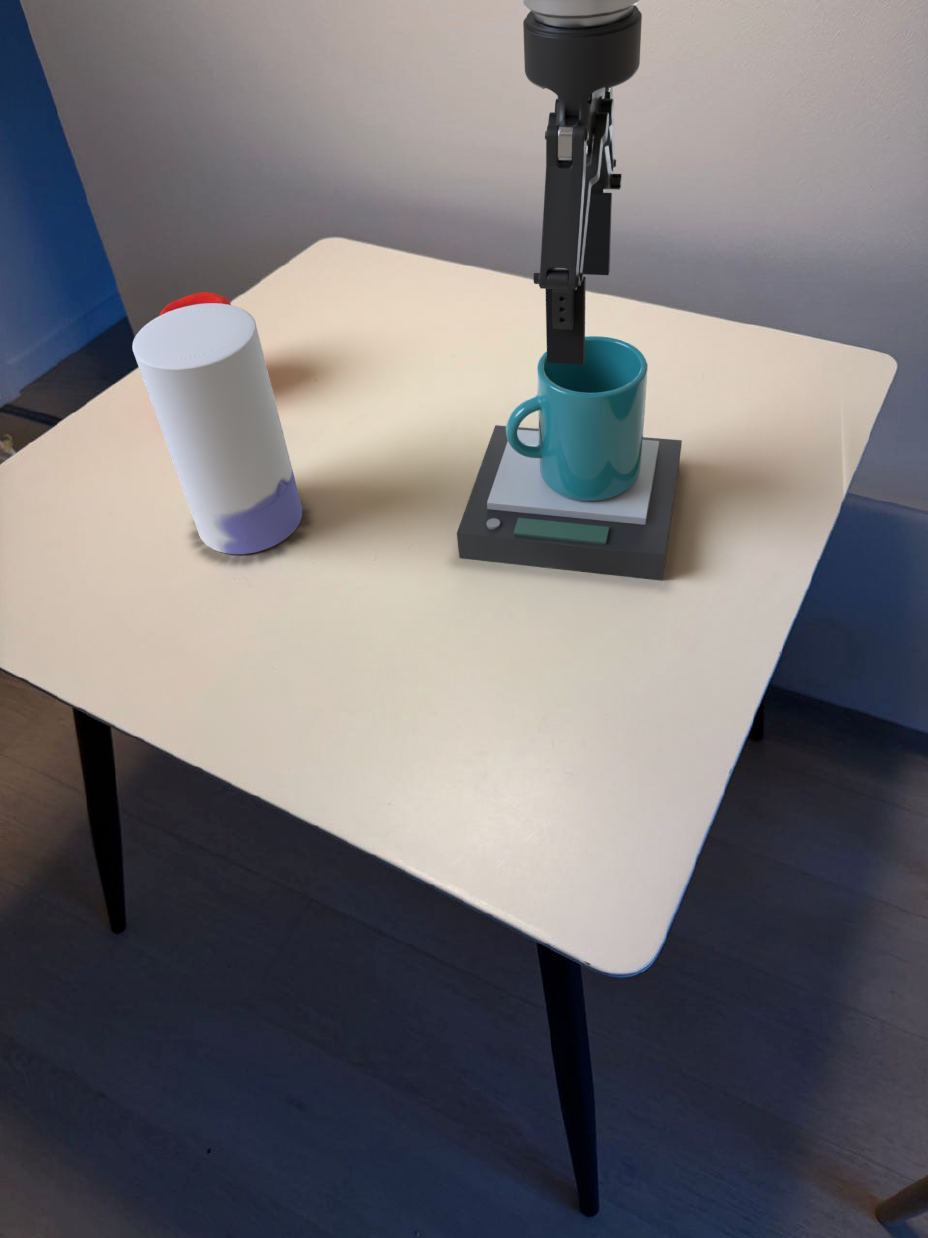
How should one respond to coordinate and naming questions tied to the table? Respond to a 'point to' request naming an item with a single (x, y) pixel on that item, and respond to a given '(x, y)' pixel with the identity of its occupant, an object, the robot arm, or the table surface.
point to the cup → (588, 420)
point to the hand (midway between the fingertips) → (580, 314)
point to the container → (221, 425)
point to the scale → (569, 514)
